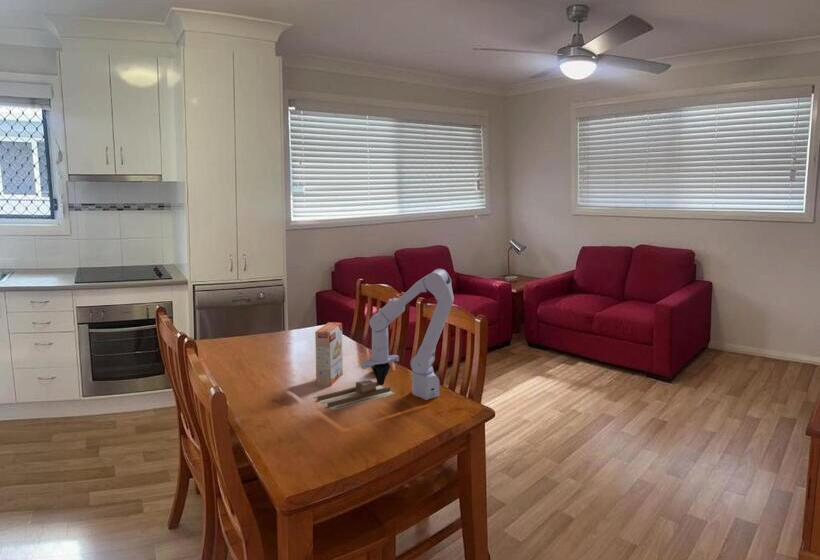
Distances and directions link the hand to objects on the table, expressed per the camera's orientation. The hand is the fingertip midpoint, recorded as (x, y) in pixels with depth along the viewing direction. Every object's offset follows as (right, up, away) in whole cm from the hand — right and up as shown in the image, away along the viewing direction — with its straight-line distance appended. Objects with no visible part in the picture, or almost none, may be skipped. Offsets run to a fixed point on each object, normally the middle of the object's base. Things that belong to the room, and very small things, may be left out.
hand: (380, 384), depth 201 cm
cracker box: (-19, -1, +10) cm, 22 cm away
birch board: (-9, -4, -6) cm, 11 cm away
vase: (-1, 0, +17) cm, 17 cm away
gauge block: (-5, -2, -3) cm, 6 cm away
